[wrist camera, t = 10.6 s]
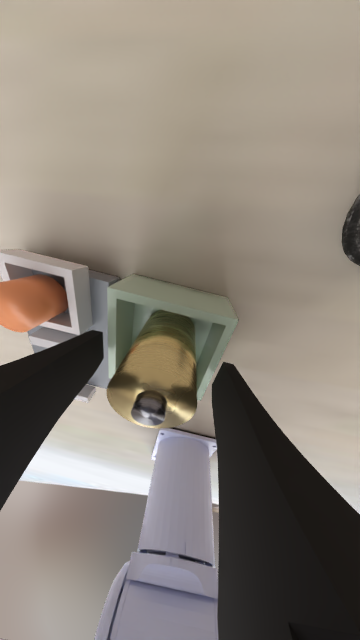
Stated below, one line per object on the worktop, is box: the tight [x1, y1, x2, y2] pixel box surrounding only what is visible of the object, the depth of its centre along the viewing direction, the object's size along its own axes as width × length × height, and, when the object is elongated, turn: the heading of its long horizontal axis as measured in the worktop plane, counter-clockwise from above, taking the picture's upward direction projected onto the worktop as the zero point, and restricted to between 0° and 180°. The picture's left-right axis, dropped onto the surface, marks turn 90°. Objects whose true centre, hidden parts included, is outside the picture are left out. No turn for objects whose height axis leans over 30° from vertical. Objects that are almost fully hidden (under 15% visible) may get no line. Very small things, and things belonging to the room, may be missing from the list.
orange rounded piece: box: [0, 274, 68, 332], centre depth 9 cm, size 3×3×2 cm
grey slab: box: [0, 249, 119, 403], centre depth 12 cm, size 13×7×3 cm, turn 168°
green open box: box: [107, 274, 239, 400], centre depth 11 cm, size 7×7×4 cm
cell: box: [107, 310, 197, 428], centre depth 9 cm, size 4×4×7 cm
